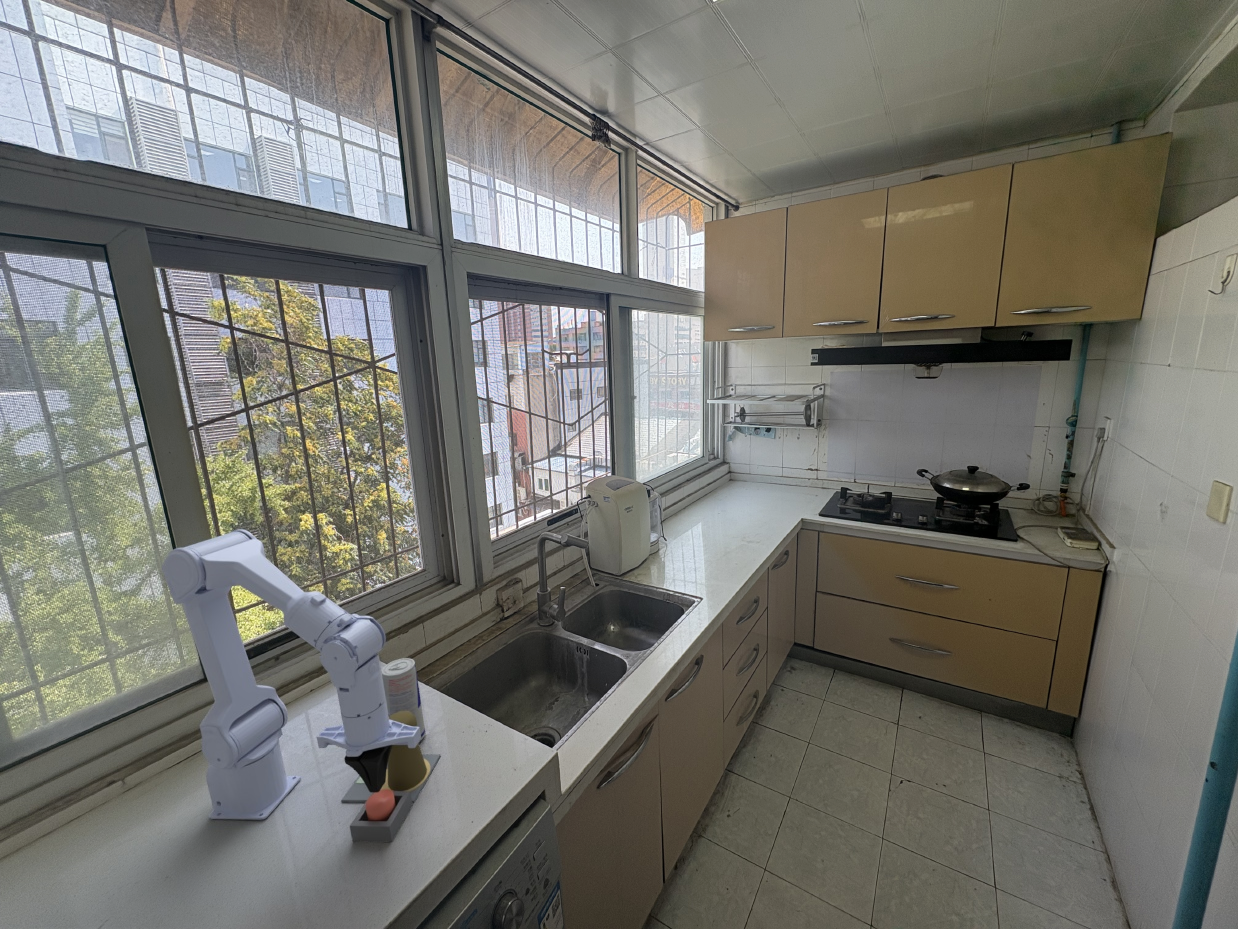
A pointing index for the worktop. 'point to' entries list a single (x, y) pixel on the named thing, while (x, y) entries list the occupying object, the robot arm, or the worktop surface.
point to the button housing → (382, 829)
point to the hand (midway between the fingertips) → (377, 787)
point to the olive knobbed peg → (405, 759)
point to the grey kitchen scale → (361, 792)
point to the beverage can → (403, 689)
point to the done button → (380, 805)
